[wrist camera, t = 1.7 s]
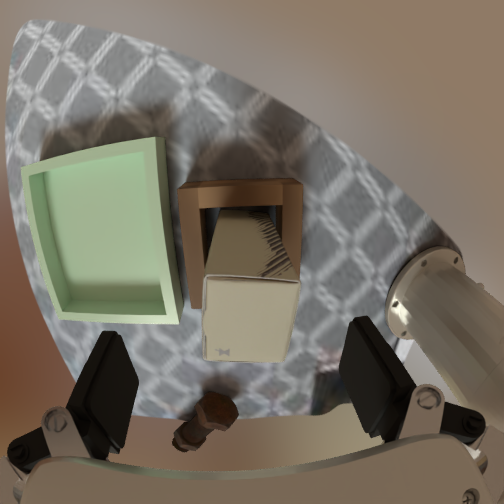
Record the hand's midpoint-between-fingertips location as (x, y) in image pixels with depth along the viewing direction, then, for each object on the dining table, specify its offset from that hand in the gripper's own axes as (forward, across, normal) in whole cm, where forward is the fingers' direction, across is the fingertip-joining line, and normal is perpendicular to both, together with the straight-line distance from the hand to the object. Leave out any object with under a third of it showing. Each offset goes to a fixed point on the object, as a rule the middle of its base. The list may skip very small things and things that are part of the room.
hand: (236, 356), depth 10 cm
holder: (+15, -1, 0) cm, 15 cm away
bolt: (+15, +7, +28) cm, 33 cm away
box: (+15, -1, 0) cm, 15 cm away
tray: (+15, +12, -1) cm, 19 cm away
